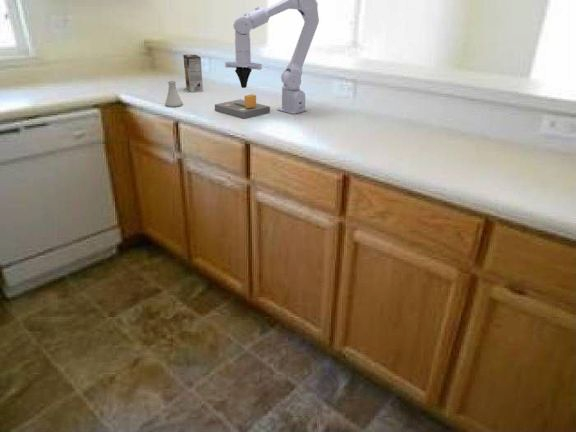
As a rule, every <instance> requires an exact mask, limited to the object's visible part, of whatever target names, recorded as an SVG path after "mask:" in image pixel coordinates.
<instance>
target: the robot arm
mask: <svg viewBox="0 0 576 432" xmlns="http://www.w3.org/2000/svg"><path fill="white" fill-rule="evenodd" d="M318 5H319V3H318V1H317V0H280V1H278V2H276V3H275V4H273V5H271V6H269V7H266V8H265V7H263V6H261V7H259V6H256V7H255V8H254V10H252V11H250V12H248V13H246V12H245V13H243V16H238V17H236V18H235V20H234V22H233V29H234V30H235V31H234V36H235V39H234V43H235V44H234V46H235V47H234V48H235V52H234V53H235V61H225V62H224V67H225V68H228V69H229V68H233V69H234V68H235V70H234V72H235V73H236V75H237V77H238V80H239V83H240V86H241V88H242V89H245V88H248V87H247V86H248V80H249V78H250V75H251V73H252V70H259V71H261V70H262V69H263V68H262V67H263V65H262V63H257V62H252V61H251V60H252V57H251V37H250V35H251V34H250V32H251V30H255V29H256V28H259V27H260V26H263V25H265V24H267V23H269V20H270V18H271V17H273V16H275V15H278V14H280V13H283V12H285V11H287V10H289V9H290V10H291V9H292V10H297V11H298V12H299V14H301V17H302V19H303V22H304V23H303V26H302V28H301V30H300V34H299V36H298V37H299V38H298V40H297V43H296V45H295V48H294V52H293V54H292V56H291V58H290V59H291V60H290V62H289V63H288V65H287V66H286V68H285V70H284V71H283V72H282V74H281V76H280V77H281V82H282V83H283V85H282V86H281V107H280V108H279V107H278V108H276V109H277V111H280V112H283V113H289V114H292V115H295V114H298V113H302V112H306V111H307V109H306V93H305V91H303V90H301V88H300V86H301V84H302V74H303V66H304V63H305V60H306V58H307V55H308V53H309V50H310V48H311V45H312V42H313V39H314V36H315V34H316V30H317V29H318V25H319V23H320V17H319V11H318Z"/></svg>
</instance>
